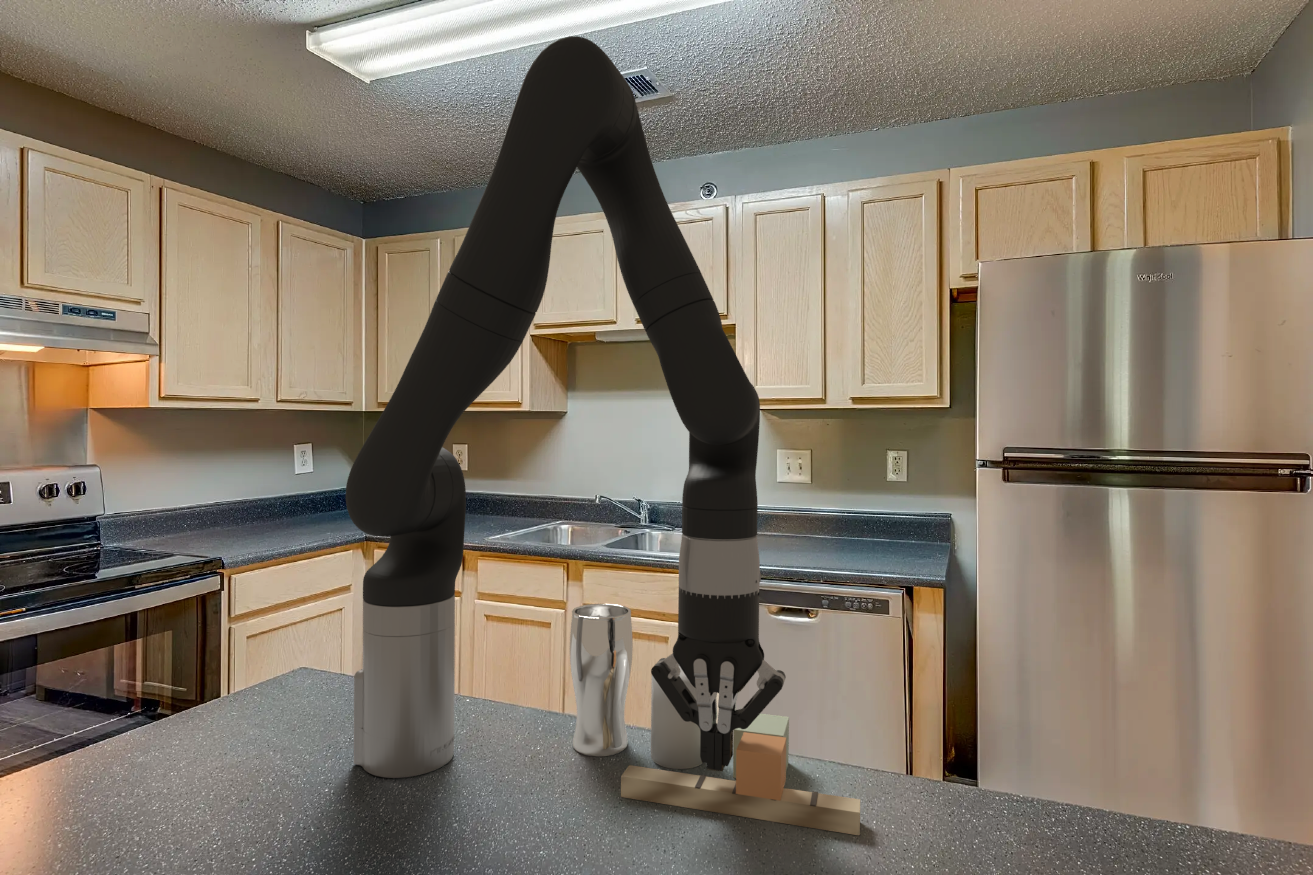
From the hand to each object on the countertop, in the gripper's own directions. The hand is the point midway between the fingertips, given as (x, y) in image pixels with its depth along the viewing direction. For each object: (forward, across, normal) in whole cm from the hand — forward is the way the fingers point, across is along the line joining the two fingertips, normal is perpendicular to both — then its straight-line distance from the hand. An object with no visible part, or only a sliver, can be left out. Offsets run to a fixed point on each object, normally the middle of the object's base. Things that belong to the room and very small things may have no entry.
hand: (716, 767), depth 69 cm
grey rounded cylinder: (+4, -6, +9) cm, 11 cm away
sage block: (+4, +3, +8) cm, 10 cm away
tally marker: (+1, +4, 0) cm, 4 cm away
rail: (+4, +2, 0) cm, 4 cm away
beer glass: (+4, -15, +9) cm, 18 cm away
